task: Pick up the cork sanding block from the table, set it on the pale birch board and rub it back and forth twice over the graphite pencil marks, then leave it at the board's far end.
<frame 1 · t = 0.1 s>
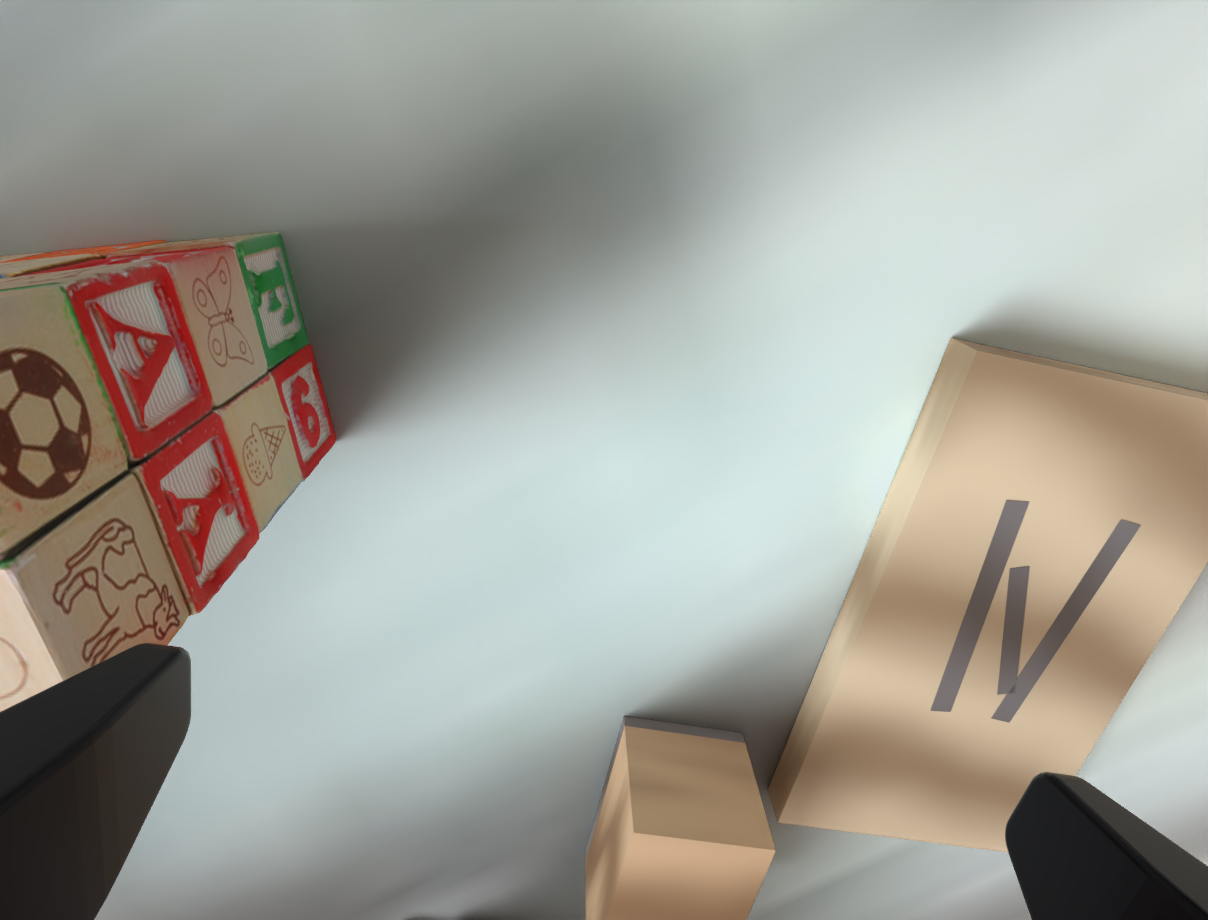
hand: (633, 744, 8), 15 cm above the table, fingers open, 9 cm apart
board: (982, 617, 25), on the table
sanding block: (660, 791, 28), on the table
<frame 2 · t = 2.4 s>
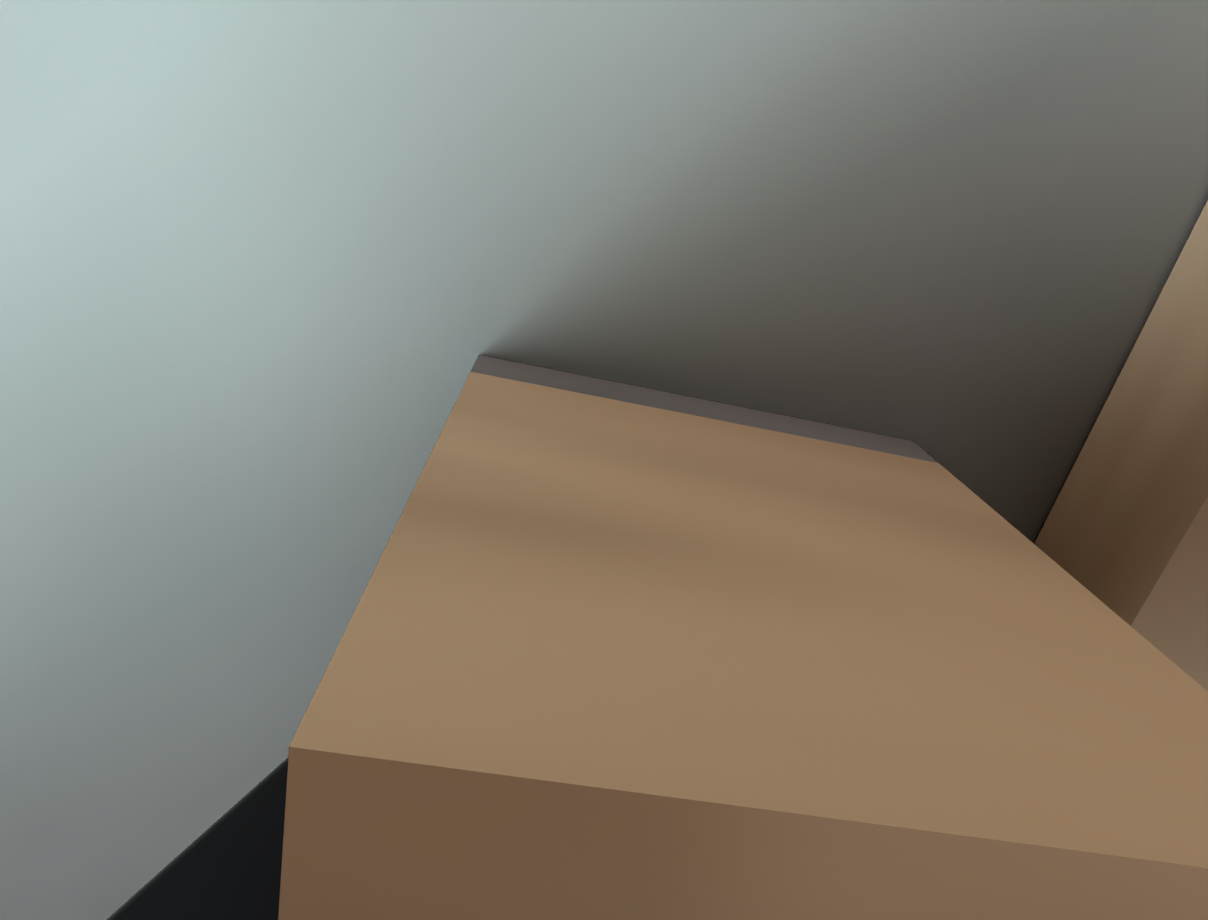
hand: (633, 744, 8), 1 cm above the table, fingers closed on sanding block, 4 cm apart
sanding block: (625, 675, 9), on the table, touching gripper
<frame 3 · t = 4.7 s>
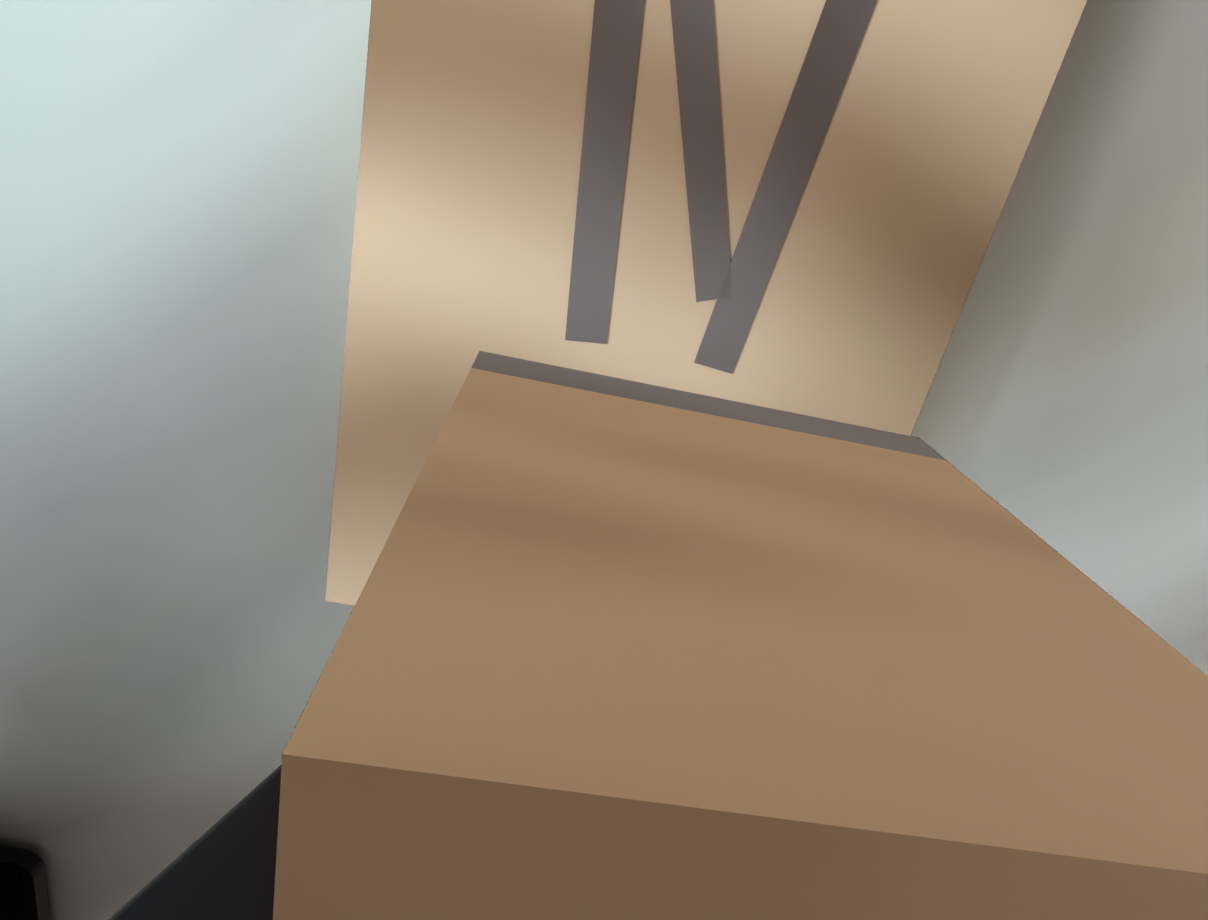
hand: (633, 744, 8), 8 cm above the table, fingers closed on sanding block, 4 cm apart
board: (680, 167, 13), on the table
sanding block: (628, 676, 8), point 7 cm above the table, touching gripper
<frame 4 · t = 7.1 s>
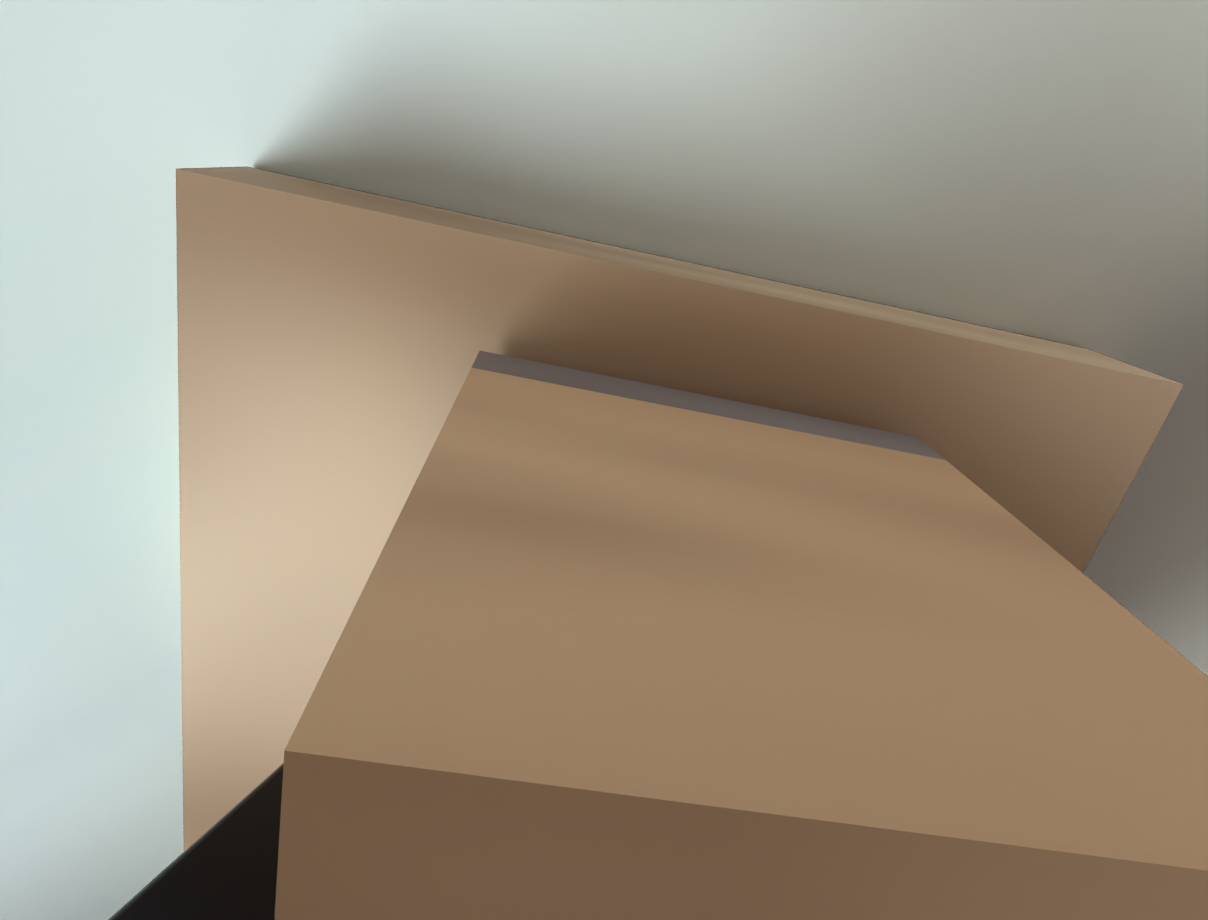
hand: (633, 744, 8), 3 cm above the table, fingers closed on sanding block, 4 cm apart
board: (554, 825, 12), on the table
sanding block: (627, 675, 8), point 2 cm above the table, touching gripper
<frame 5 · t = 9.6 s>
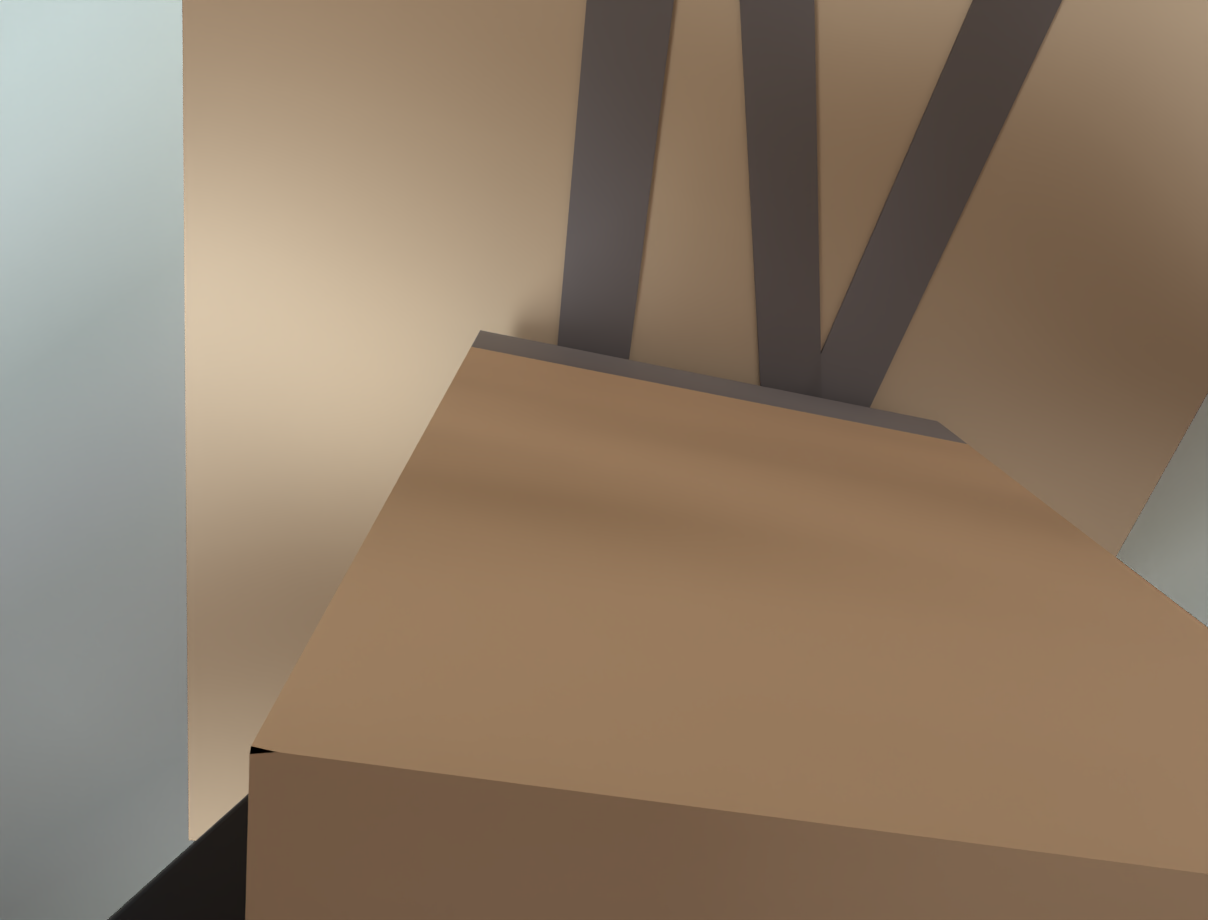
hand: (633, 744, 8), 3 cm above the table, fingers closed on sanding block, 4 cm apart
board: (731, 192, 8), on the table
sanding block: (634, 669, 8), point 2 cm above the table, touching gripper
when the fingers open (3 cm above the table, at t = 11.9 s): sanding block stays where it is, resting on board.
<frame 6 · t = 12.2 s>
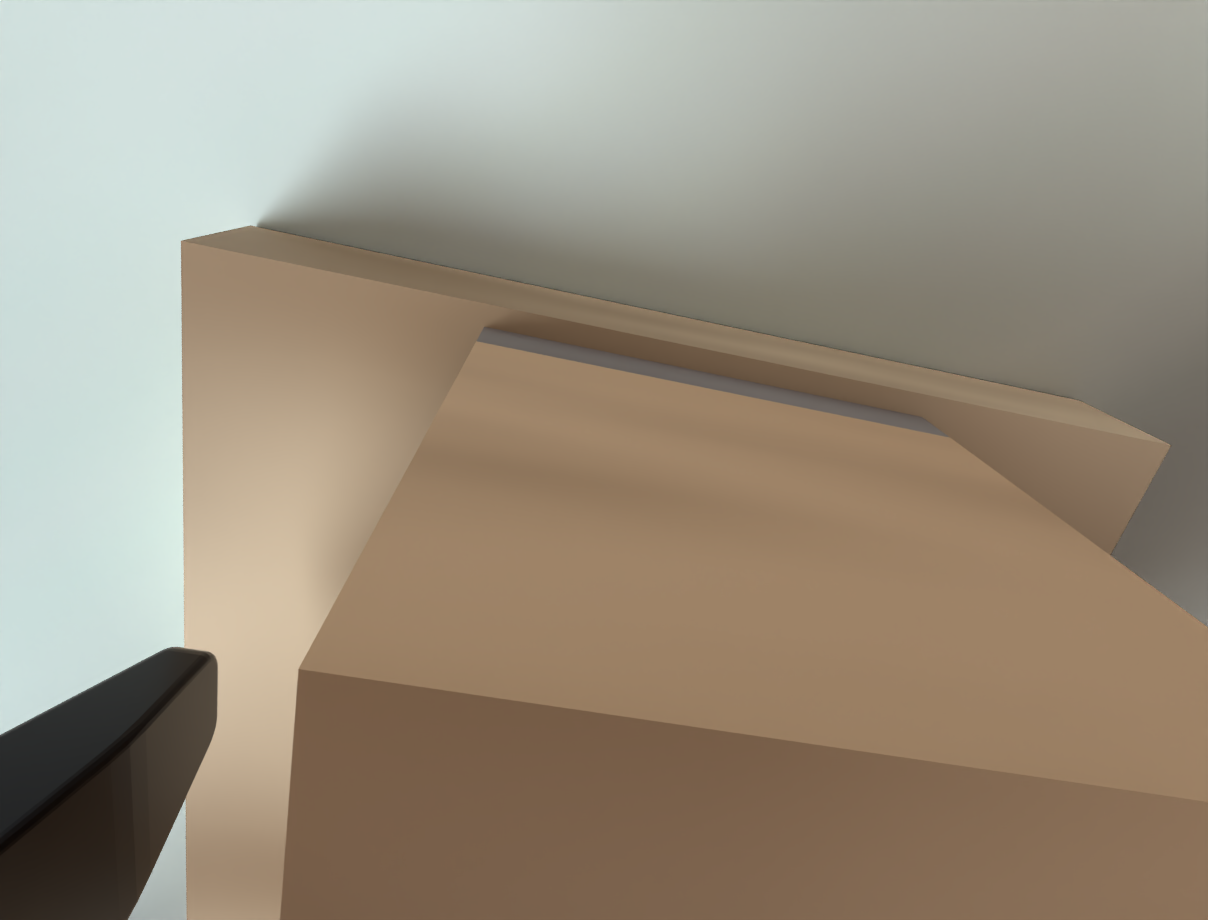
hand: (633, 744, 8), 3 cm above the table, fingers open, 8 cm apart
board: (551, 856, 12), on the table
sanding block: (630, 658, 8), point 2 cm above the table, touching board
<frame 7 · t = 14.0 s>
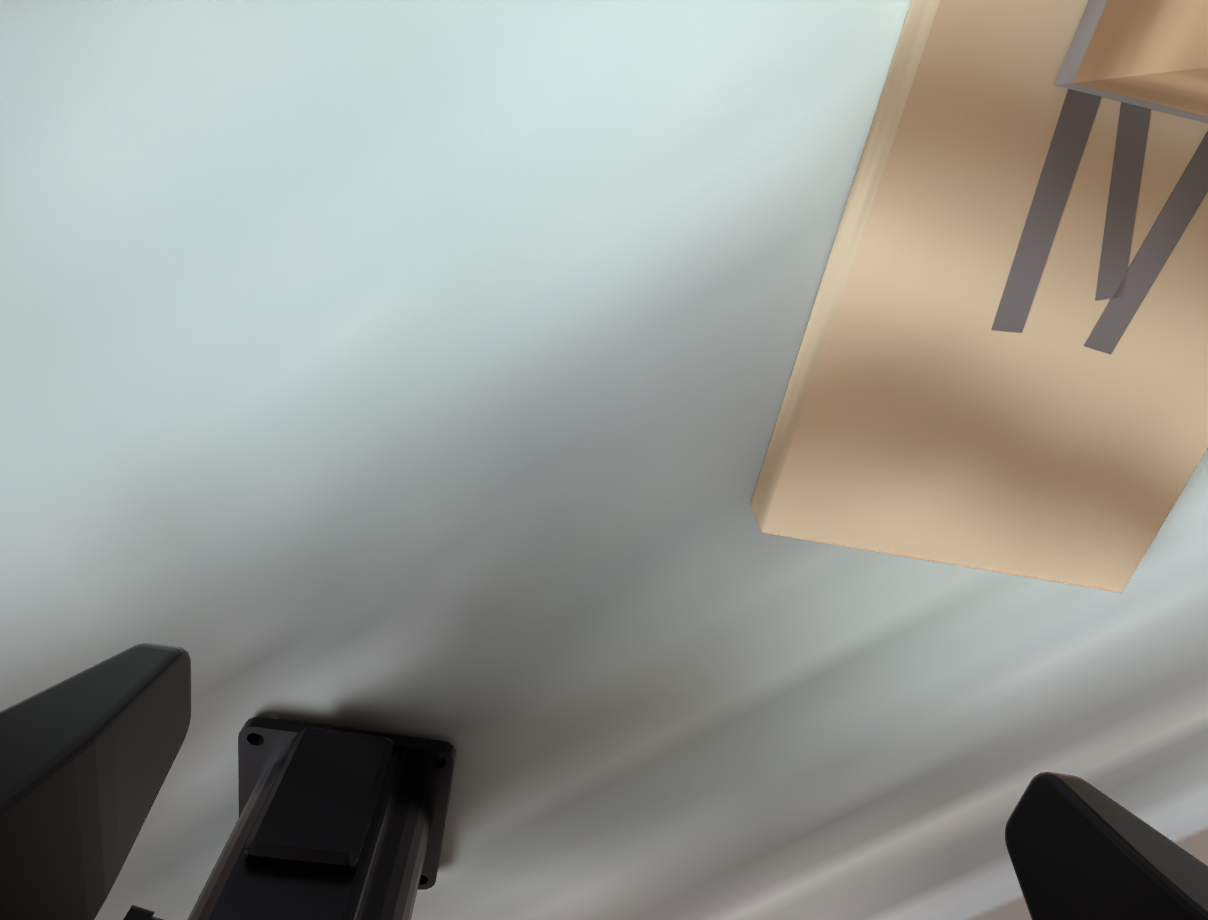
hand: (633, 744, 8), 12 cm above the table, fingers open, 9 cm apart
board: (1070, 197, 16), on the table
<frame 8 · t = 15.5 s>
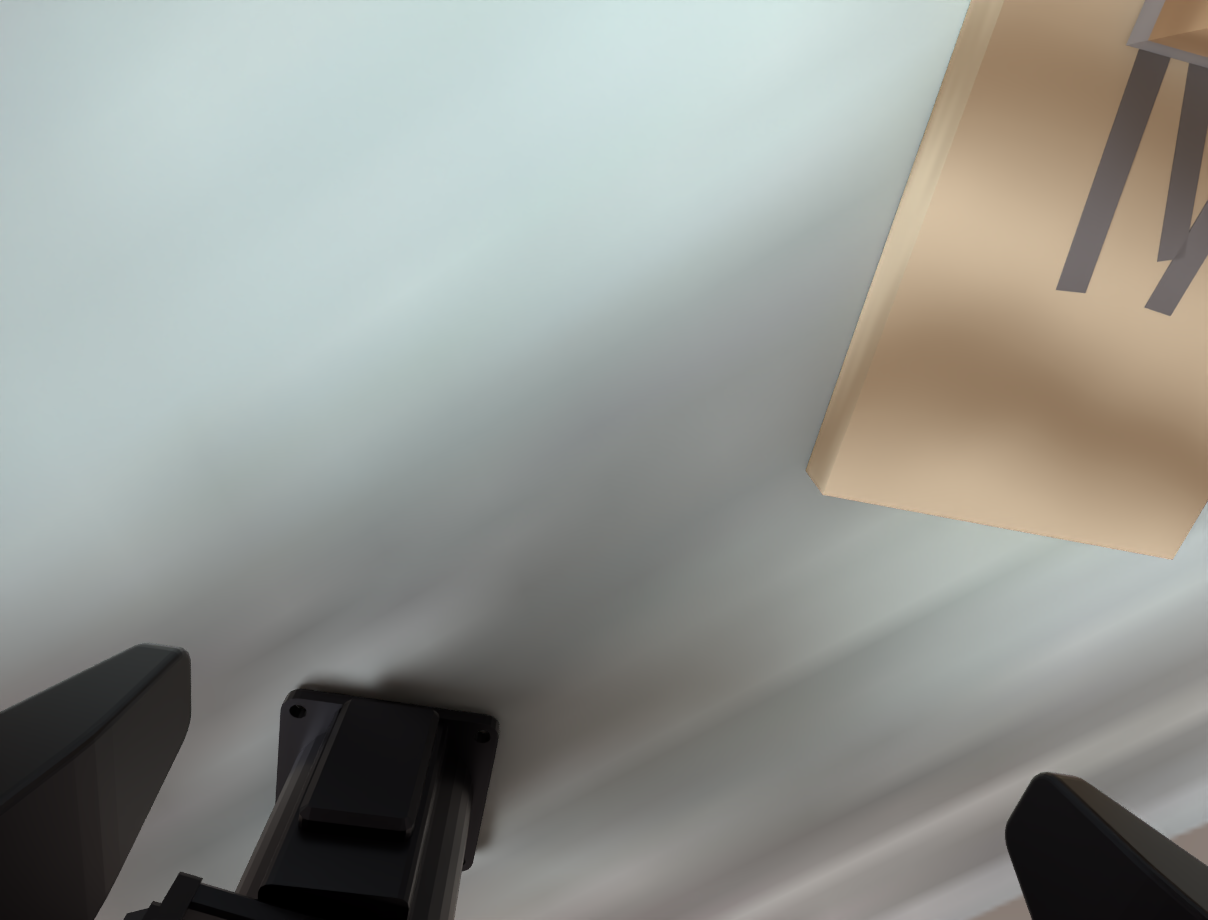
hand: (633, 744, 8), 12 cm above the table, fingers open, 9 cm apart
board: (1129, 163, 17), on the table
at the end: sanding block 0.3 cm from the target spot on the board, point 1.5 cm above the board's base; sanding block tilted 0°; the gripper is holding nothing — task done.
